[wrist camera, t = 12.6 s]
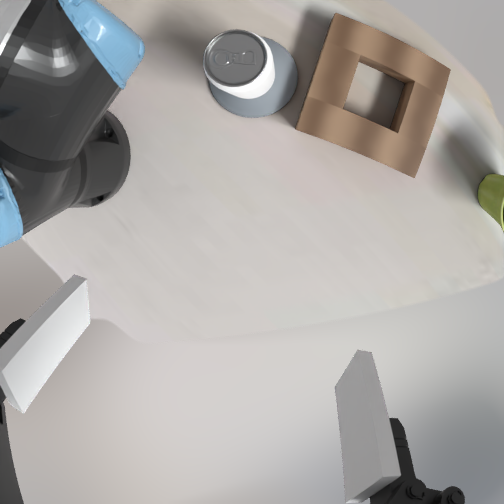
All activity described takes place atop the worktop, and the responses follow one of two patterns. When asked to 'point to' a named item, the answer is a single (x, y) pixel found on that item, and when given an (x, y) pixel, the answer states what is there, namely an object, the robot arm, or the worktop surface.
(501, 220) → the plant pot
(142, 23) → the worktop surface
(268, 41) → the slate mat
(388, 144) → the pocket block
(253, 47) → the can
